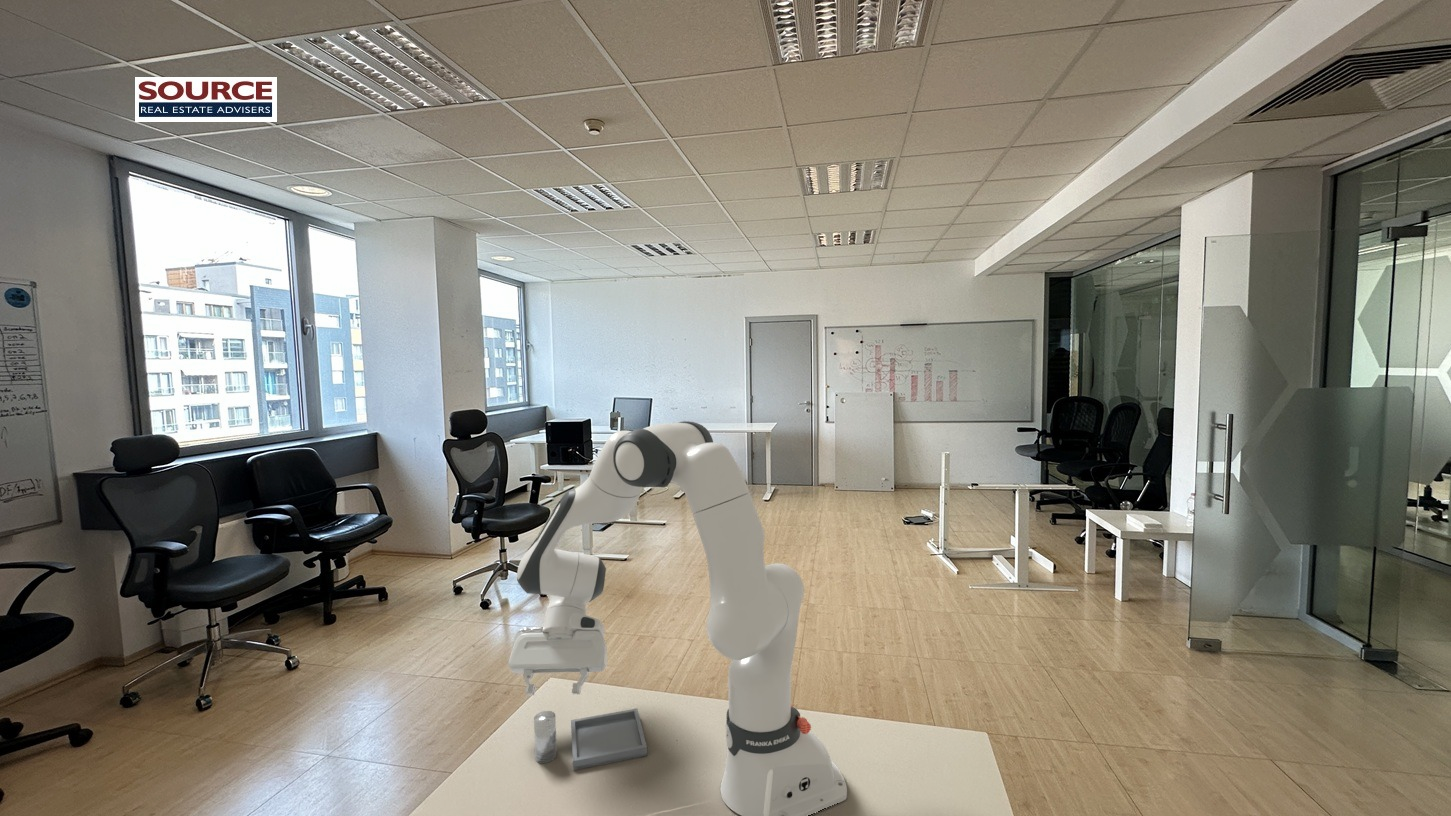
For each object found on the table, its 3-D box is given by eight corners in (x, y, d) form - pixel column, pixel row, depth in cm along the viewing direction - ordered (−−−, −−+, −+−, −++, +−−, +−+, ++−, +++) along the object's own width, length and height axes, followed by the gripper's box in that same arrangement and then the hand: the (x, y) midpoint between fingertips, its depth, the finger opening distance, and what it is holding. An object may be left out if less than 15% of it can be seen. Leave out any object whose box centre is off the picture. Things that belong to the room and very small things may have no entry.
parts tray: (637, 716, 125) (637, 708, 125) (647, 755, 112) (646, 746, 112) (571, 728, 121) (570, 720, 121) (573, 770, 108) (572, 761, 108)
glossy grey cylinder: (556, 748, 115) (555, 709, 114) (556, 760, 111) (555, 720, 111) (535, 752, 114) (534, 712, 113) (534, 765, 110) (533, 724, 109)
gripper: (512, 622, 124) (497, 690, 115) (607, 620, 125) (599, 688, 115) (520, 633, 129) (505, 699, 120) (611, 631, 129) (604, 697, 120)
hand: (552, 694), depth 118 cm, fingers open, 8 cm apart
